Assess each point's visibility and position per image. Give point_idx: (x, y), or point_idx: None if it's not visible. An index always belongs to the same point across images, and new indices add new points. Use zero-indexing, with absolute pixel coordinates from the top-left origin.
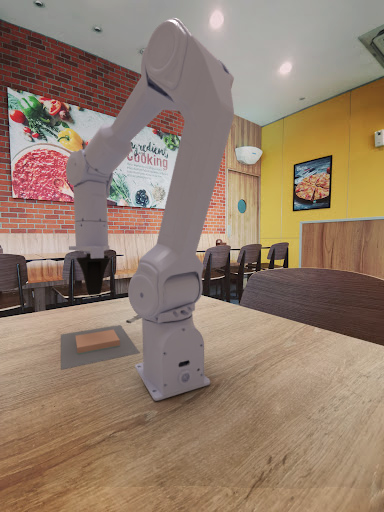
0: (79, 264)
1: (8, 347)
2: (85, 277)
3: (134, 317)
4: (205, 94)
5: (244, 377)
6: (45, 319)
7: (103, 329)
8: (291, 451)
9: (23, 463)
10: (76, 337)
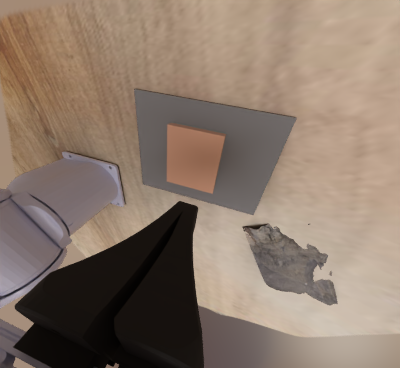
0: (147, 292)
1: None
2: (137, 233)
3: (271, 244)
4: None
5: None
6: None
7: (253, 189)
8: None
9: (5, 34)
10: (214, 135)
